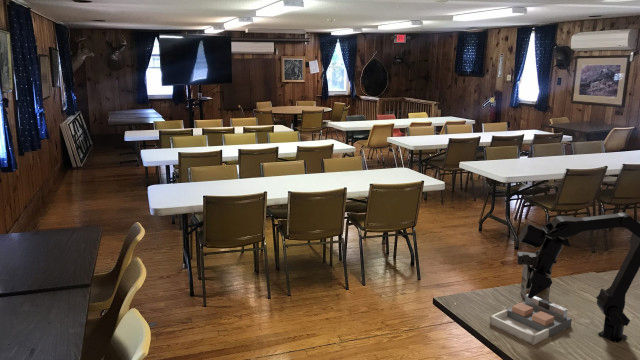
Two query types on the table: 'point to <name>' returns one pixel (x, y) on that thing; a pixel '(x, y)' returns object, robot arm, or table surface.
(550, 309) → the sleeved grey plank
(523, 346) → the table surface
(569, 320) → the board
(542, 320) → the tile
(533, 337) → the tray
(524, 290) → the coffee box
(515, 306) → the tile
